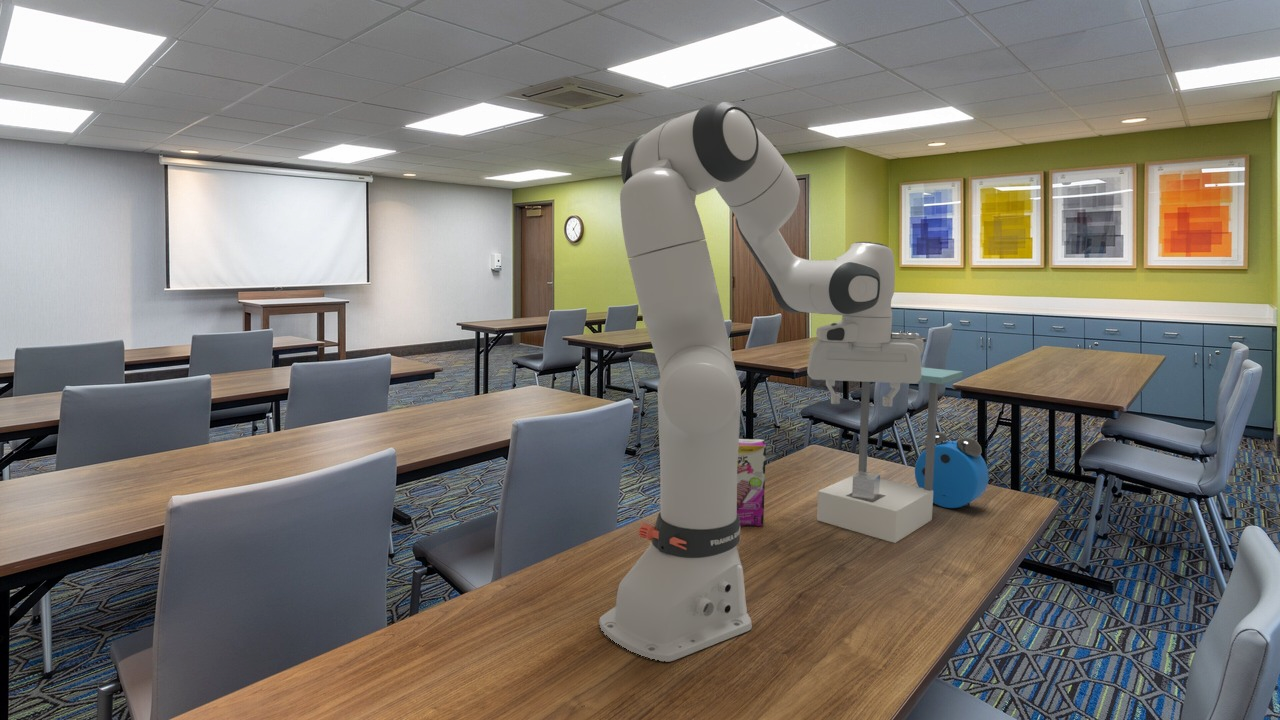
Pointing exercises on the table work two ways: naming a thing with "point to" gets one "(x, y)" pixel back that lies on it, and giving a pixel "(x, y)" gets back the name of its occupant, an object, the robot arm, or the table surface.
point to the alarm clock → (955, 471)
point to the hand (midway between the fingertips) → (861, 404)
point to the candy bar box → (751, 481)
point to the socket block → (887, 482)
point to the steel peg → (866, 486)
